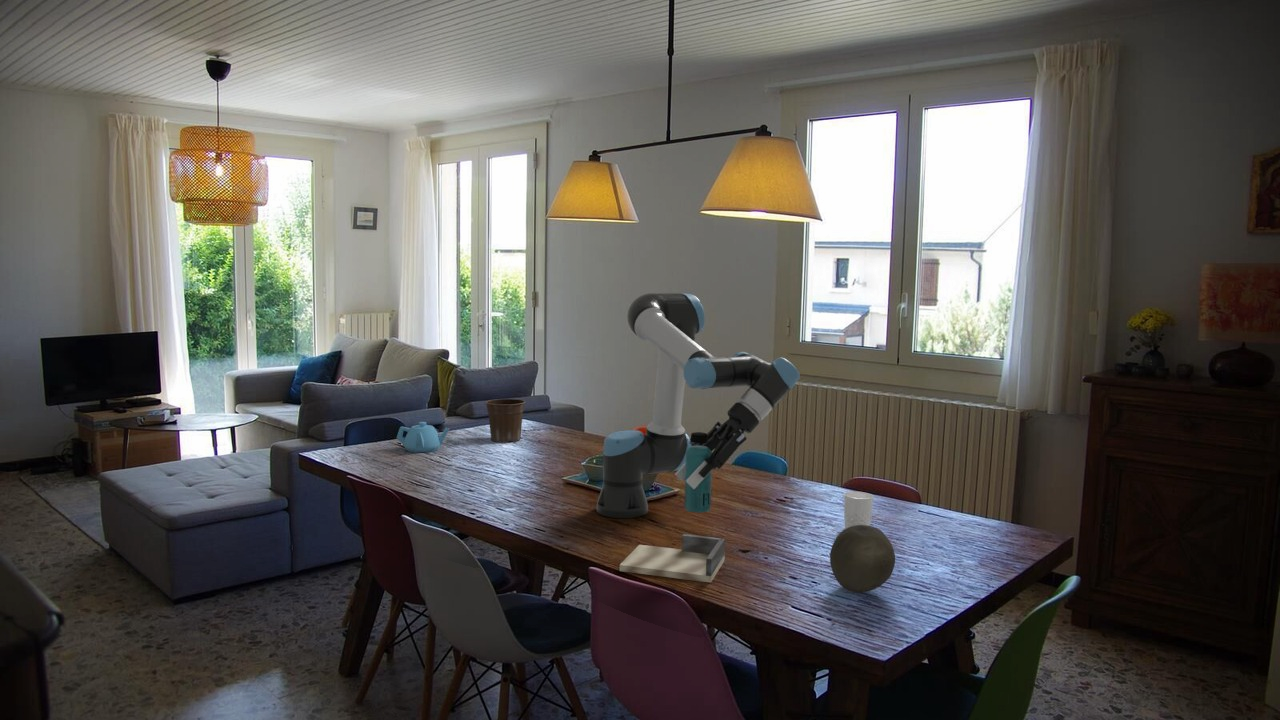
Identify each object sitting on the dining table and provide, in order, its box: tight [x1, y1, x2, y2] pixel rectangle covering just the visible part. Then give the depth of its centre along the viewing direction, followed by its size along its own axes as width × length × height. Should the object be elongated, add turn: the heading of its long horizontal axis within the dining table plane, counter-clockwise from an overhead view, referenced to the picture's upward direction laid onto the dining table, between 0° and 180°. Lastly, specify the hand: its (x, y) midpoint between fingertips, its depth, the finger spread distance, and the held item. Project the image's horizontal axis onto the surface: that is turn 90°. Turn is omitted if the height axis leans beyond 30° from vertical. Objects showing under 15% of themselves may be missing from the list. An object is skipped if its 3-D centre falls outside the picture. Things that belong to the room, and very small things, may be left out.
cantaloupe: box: [829, 525, 896, 594], centre depth 190 cm, size 14×14×15 cm
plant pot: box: [485, 398, 526, 443], centre depth 352 cm, size 16×16×16 cm
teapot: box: [396, 421, 450, 453], centre depth 330 cm, size 15×15×11 cm
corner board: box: [619, 533, 726, 584], centre depth 205 cm, size 22×16×6 cm
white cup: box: [843, 491, 874, 530], centre depth 237 cm, size 8×8×10 cm
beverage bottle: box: [683, 431, 713, 513], centre depth 203 cm, size 6×7×20 cm
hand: (684, 481), depth 202 cm, fingers closed on beverage bottle, 6 cm apart
